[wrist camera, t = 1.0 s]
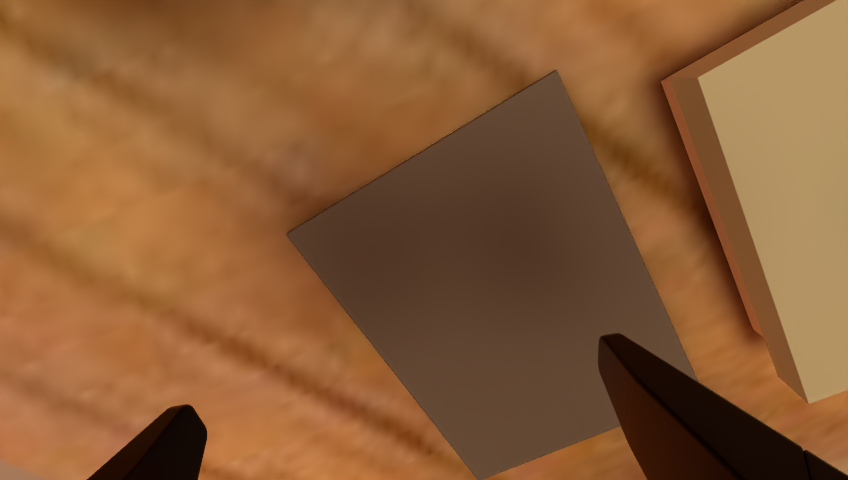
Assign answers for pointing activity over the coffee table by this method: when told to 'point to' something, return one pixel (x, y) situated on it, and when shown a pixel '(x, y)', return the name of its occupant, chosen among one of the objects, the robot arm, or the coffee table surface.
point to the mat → (496, 280)
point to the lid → (783, 180)
